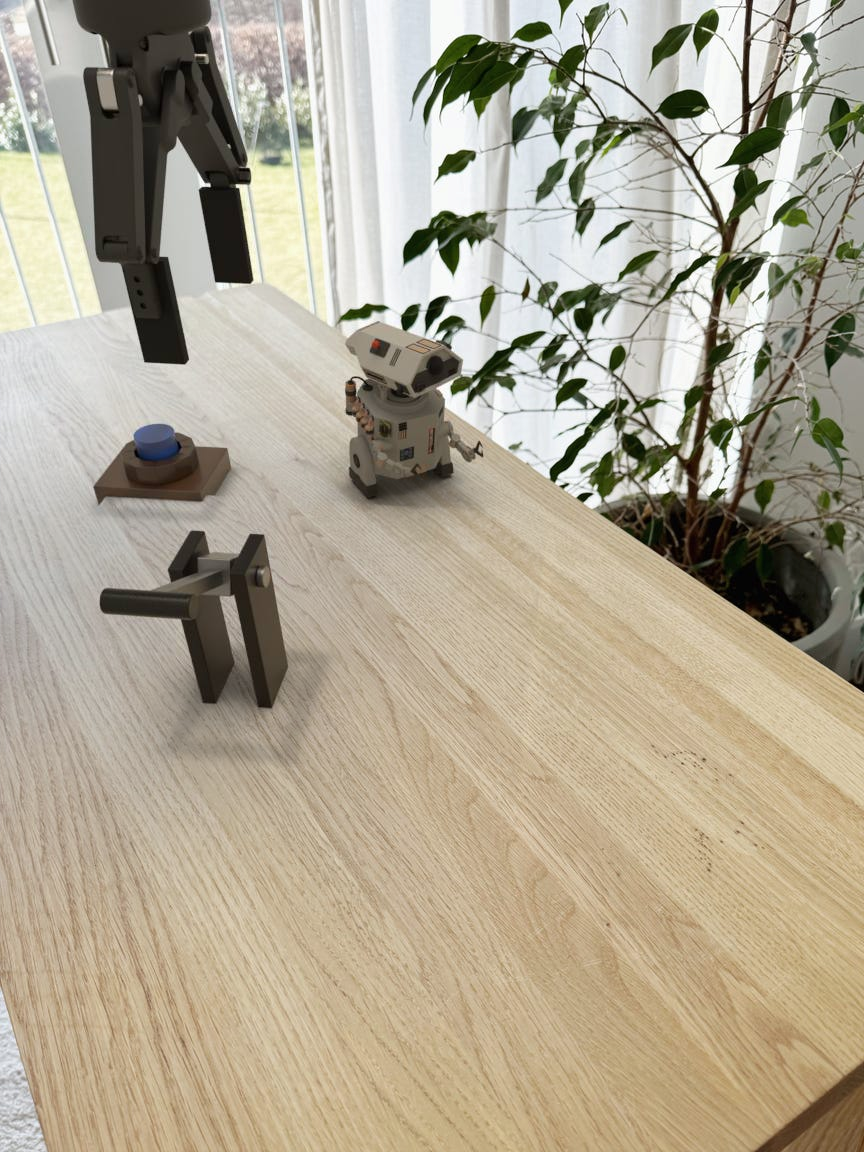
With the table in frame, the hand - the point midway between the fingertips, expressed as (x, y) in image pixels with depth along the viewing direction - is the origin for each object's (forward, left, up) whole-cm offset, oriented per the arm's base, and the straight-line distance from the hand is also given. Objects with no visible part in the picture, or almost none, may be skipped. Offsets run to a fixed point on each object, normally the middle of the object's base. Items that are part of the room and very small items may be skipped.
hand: (203, 319), depth 69 cm
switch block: (-12, +13, -22) cm, 28 cm away
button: (-12, +13, -18) cm, 25 cm away
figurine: (+11, +15, -22) cm, 29 cm away
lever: (+4, -19, -10) cm, 22 cm away
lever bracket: (+4, -14, -22) cm, 27 cm away
